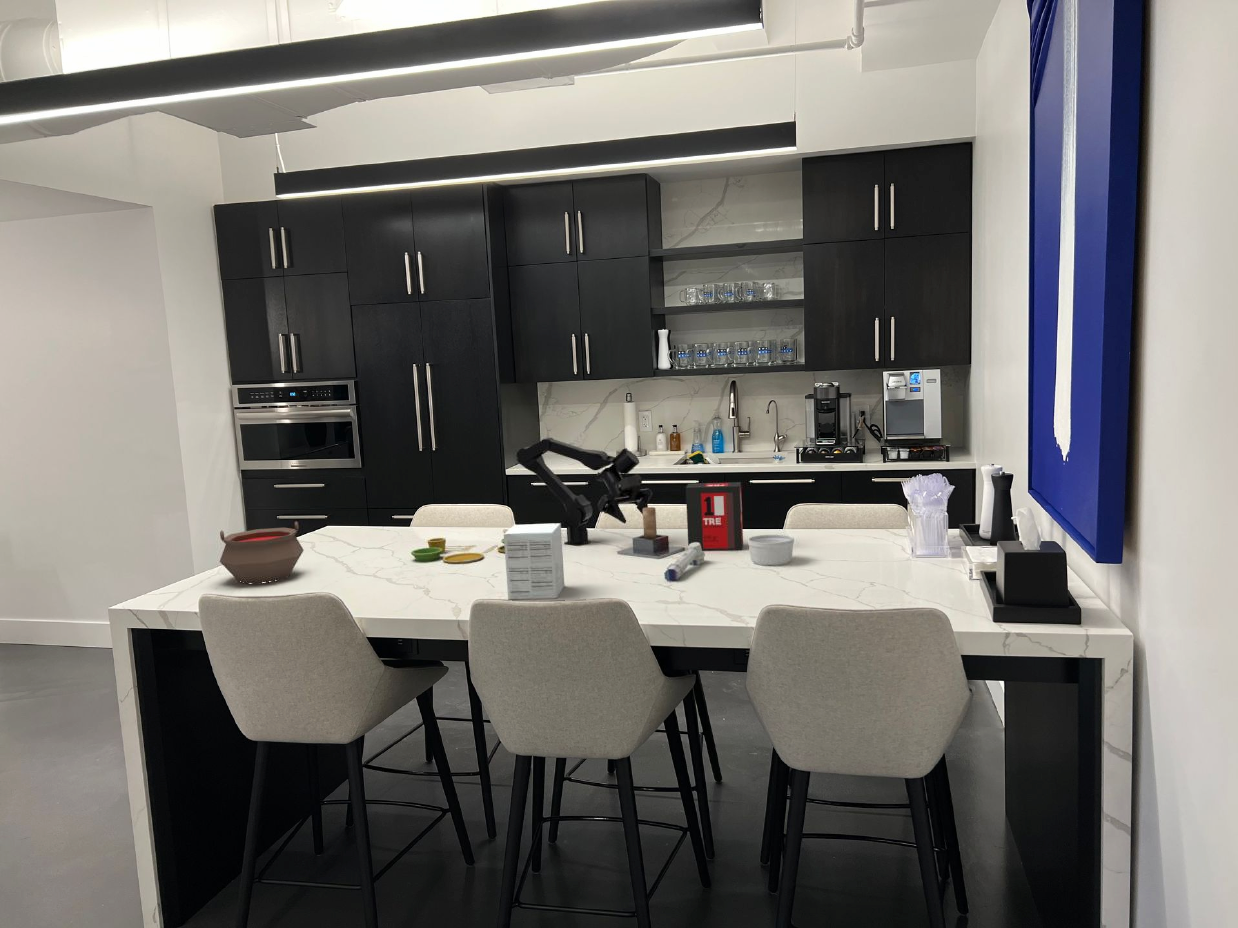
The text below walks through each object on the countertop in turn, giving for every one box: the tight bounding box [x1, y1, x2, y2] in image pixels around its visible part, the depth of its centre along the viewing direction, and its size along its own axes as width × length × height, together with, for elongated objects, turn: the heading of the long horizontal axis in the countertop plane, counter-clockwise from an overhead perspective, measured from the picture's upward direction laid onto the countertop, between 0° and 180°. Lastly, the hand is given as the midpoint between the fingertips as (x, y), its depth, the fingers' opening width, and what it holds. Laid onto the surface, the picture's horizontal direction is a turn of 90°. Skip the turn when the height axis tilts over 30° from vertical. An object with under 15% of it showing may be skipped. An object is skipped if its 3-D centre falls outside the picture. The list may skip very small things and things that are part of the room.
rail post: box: [642, 506, 658, 539], centre depth 287 cm, size 4×4×13 cm
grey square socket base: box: [616, 534, 686, 560], centre depth 288 cm, size 16×14×5 cm
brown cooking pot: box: [219, 521, 305, 584], centre depth 279 cm, size 24×24×16 cm
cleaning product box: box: [685, 481, 744, 552], centre depth 288 cm, size 16×9×20 cm, turn 80°
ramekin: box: [747, 533, 795, 566], centre depth 266 cm, size 13×13×7 cm
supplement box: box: [503, 522, 566, 600], centre depth 244 cm, size 13×13×18 cm
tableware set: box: [410, 528, 509, 565], centre depth 298 cm, size 41×28×6 cm
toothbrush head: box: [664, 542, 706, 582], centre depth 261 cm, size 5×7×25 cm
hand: (637, 520), depth 292 cm, fingers open, 9 cm apart
